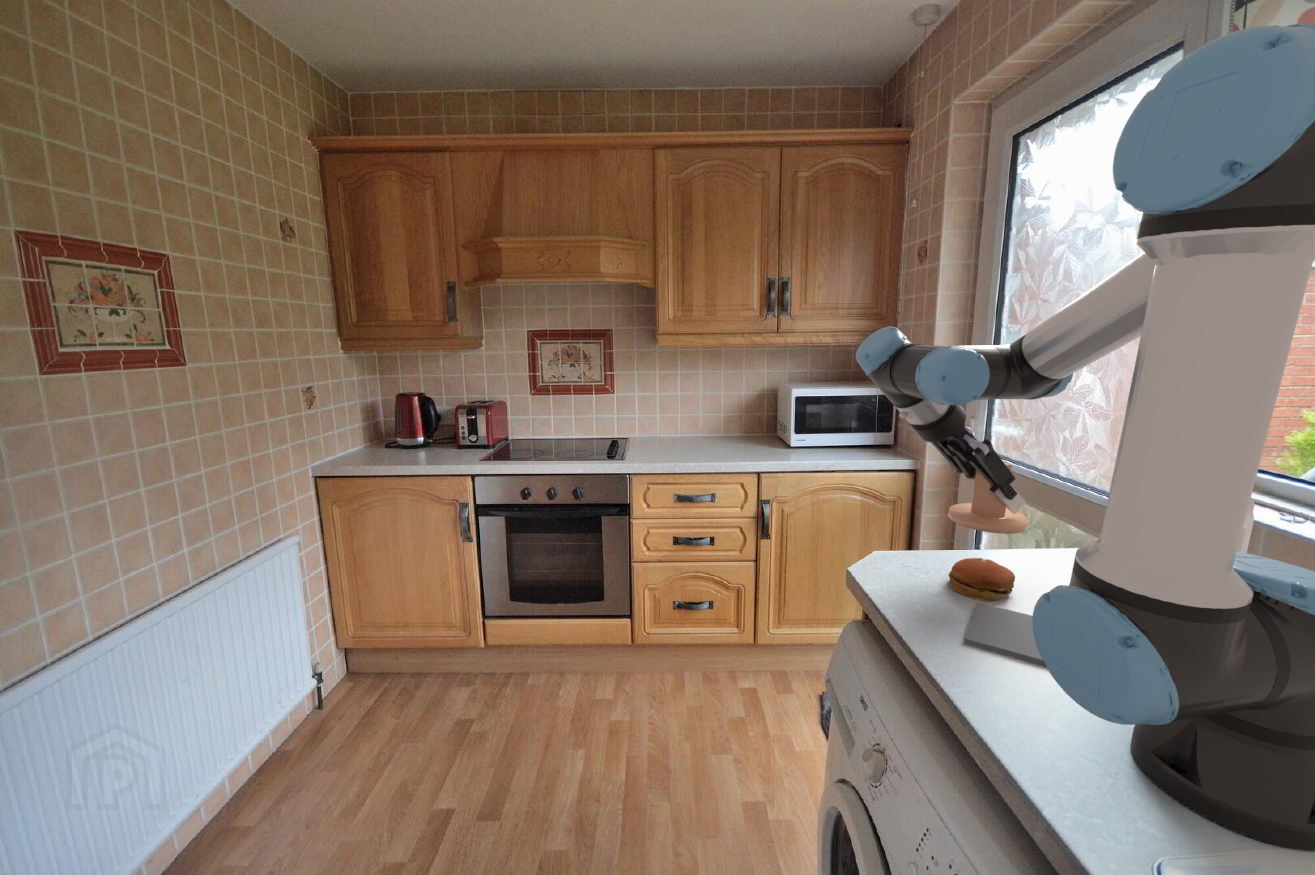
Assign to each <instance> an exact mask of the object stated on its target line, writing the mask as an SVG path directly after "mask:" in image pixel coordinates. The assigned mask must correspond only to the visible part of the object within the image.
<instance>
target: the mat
mask: <svg viewBox="0 0 1315 875" xmlns="http://www.w3.org/2000/svg"><path fill="white" fill-rule="evenodd" d="M1032 617H1033V614H1027V613H1025V612H1023V613H1022V612H1018V611H1016V610H1010V609H1006V608H1003V607H1000V606H999V607H998V606H994V605H989V604H986V603H983V602H982V603H981V602H978V601H974V606H973V609H972V613H971V616H970V619H969V623H968V626H967V629H966V632H965V637H964V640H963V644H965V645H969V646H972V647H976V648H979V649H982V650H986V651H990V652H993V653H997V654H1000V655H1003V656H1008V657H1011V658H1015V659H1018V660H1021V661H1026V662H1029V663H1032V664H1036V665H1039V666H1043V667H1046V668H1048V667H1047V665H1046V664H1045V662H1044V661H1043V659H1042V658H1041V656H1040V653H1039V651H1038V648H1037V645H1036V642H1035V638H1034V634H1033V624H1032Z"/></svg>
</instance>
